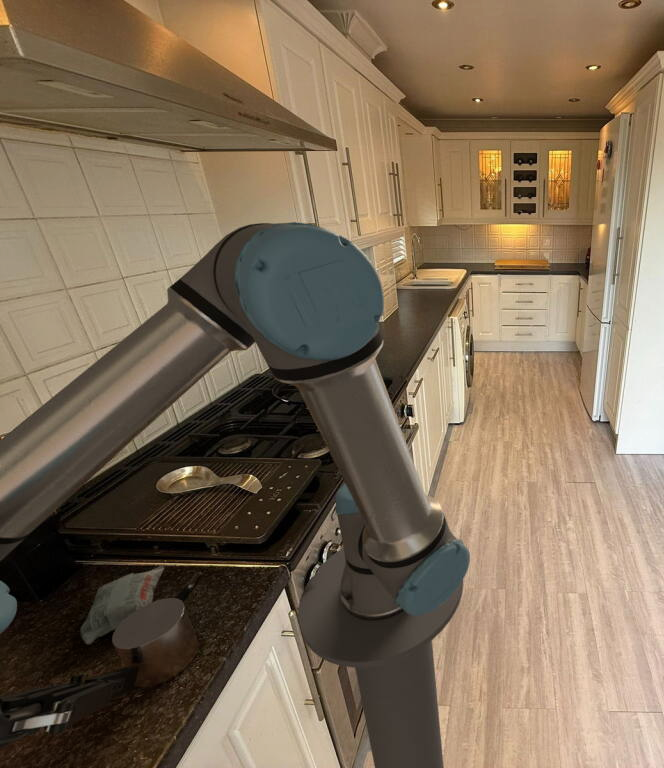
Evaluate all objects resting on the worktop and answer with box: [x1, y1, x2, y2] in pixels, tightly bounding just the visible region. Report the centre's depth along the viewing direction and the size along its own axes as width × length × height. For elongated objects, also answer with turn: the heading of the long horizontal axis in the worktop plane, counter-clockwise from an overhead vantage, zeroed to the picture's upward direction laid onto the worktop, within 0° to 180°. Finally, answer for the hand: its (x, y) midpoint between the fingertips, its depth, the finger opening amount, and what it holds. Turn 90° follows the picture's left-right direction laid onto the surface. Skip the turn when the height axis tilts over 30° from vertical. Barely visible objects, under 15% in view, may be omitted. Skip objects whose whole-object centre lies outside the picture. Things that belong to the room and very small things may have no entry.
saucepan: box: [111, 571, 204, 688], centre depth 63 cm, size 8×15×8 cm, turn 4°
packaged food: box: [80, 565, 165, 645], centre depth 68 cm, size 9×12×5 cm
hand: (130, 678), depth 55 cm, fingers closed
